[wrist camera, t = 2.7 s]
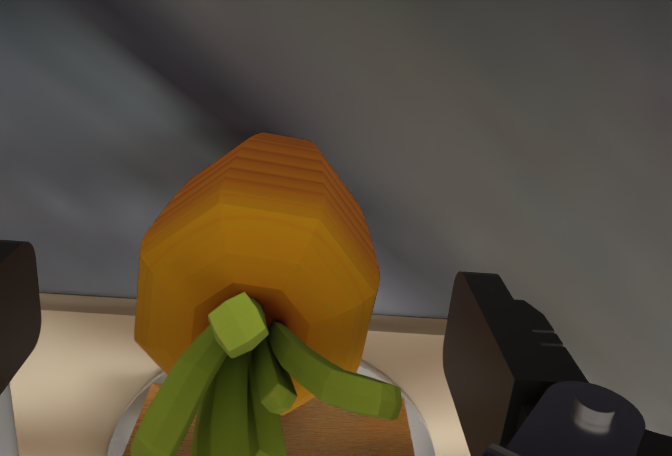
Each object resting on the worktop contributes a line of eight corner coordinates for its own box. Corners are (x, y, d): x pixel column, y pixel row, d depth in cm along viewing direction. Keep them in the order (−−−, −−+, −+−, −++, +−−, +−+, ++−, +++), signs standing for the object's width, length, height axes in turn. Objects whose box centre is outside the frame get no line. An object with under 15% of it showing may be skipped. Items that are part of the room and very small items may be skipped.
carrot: (258, 57, 20) (124, 237, 7) (384, 139, 22) (499, 441, 8) (185, 181, 22) (-48, 541, 8) (307, 251, 23) (285, 674, 9)
